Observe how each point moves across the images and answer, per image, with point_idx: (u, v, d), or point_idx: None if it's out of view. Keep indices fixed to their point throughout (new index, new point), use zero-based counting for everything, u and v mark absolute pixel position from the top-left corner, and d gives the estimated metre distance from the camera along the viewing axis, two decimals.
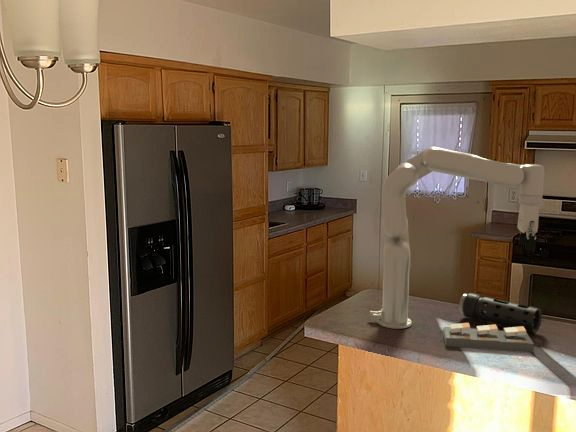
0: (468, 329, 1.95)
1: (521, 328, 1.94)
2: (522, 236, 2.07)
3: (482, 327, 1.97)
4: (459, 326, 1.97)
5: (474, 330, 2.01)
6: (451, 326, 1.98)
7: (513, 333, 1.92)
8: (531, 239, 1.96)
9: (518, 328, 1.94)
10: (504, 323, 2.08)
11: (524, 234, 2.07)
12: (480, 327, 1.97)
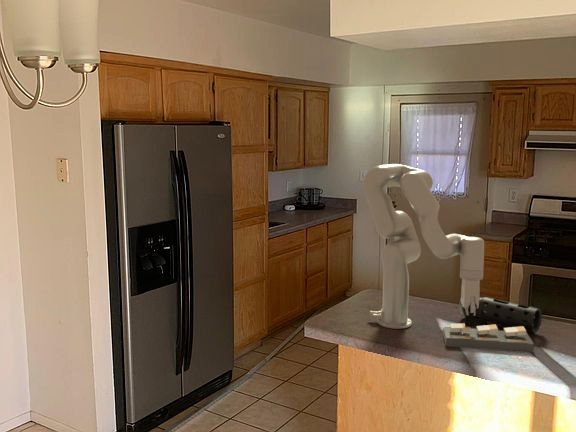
0: (468, 329, 1.95)
1: (521, 328, 1.94)
2: None
3: (482, 327, 1.97)
4: (459, 326, 1.97)
5: (474, 330, 2.01)
6: (451, 325, 1.98)
7: (513, 333, 1.92)
8: (470, 315, 1.94)
9: (518, 328, 1.94)
10: (504, 323, 2.08)
11: None
12: (480, 327, 1.97)
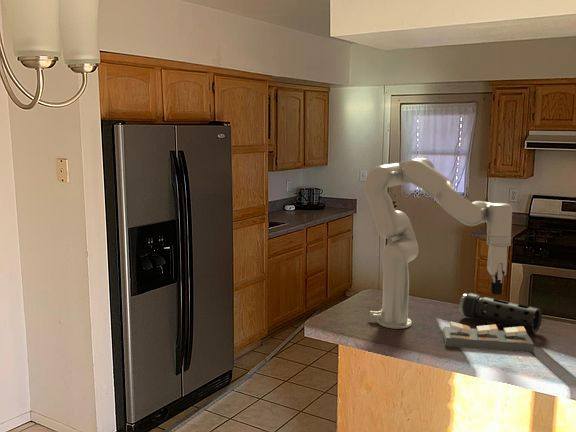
0: (468, 332, 1.95)
1: (521, 328, 1.94)
2: None
3: (482, 327, 1.97)
4: (460, 326, 1.97)
5: (474, 330, 2.01)
6: (452, 323, 1.98)
7: (513, 333, 1.92)
8: (497, 282, 1.91)
9: (518, 328, 1.94)
10: (504, 323, 2.08)
11: None
12: (480, 327, 1.97)
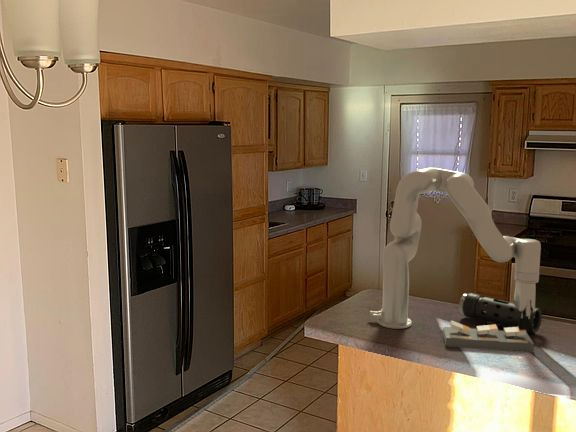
0: (467, 333, 1.95)
1: None
2: None
3: (482, 327, 1.97)
4: (460, 326, 1.97)
5: (474, 330, 2.01)
6: (453, 322, 1.98)
7: (513, 333, 1.92)
8: (525, 318, 1.91)
9: (518, 328, 1.94)
10: (504, 323, 2.08)
11: None
12: (480, 327, 1.97)
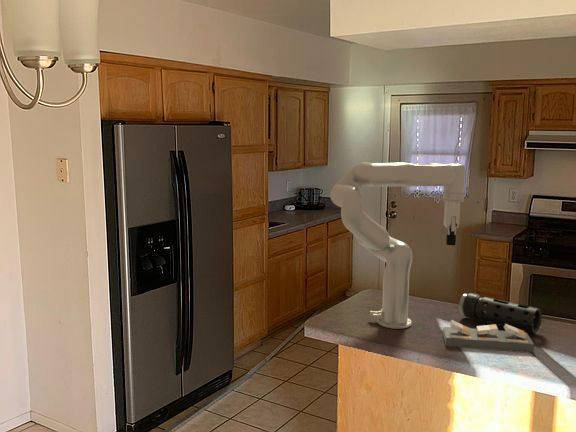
0: (467, 333, 1.95)
1: (522, 332, 1.94)
2: None
3: (482, 327, 1.97)
4: (460, 326, 1.97)
5: (474, 330, 2.01)
6: (453, 322, 1.98)
7: (513, 332, 1.92)
8: (451, 234, 2.15)
9: (519, 330, 1.94)
10: (504, 323, 2.08)
11: None
12: (480, 327, 1.97)
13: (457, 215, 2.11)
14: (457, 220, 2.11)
